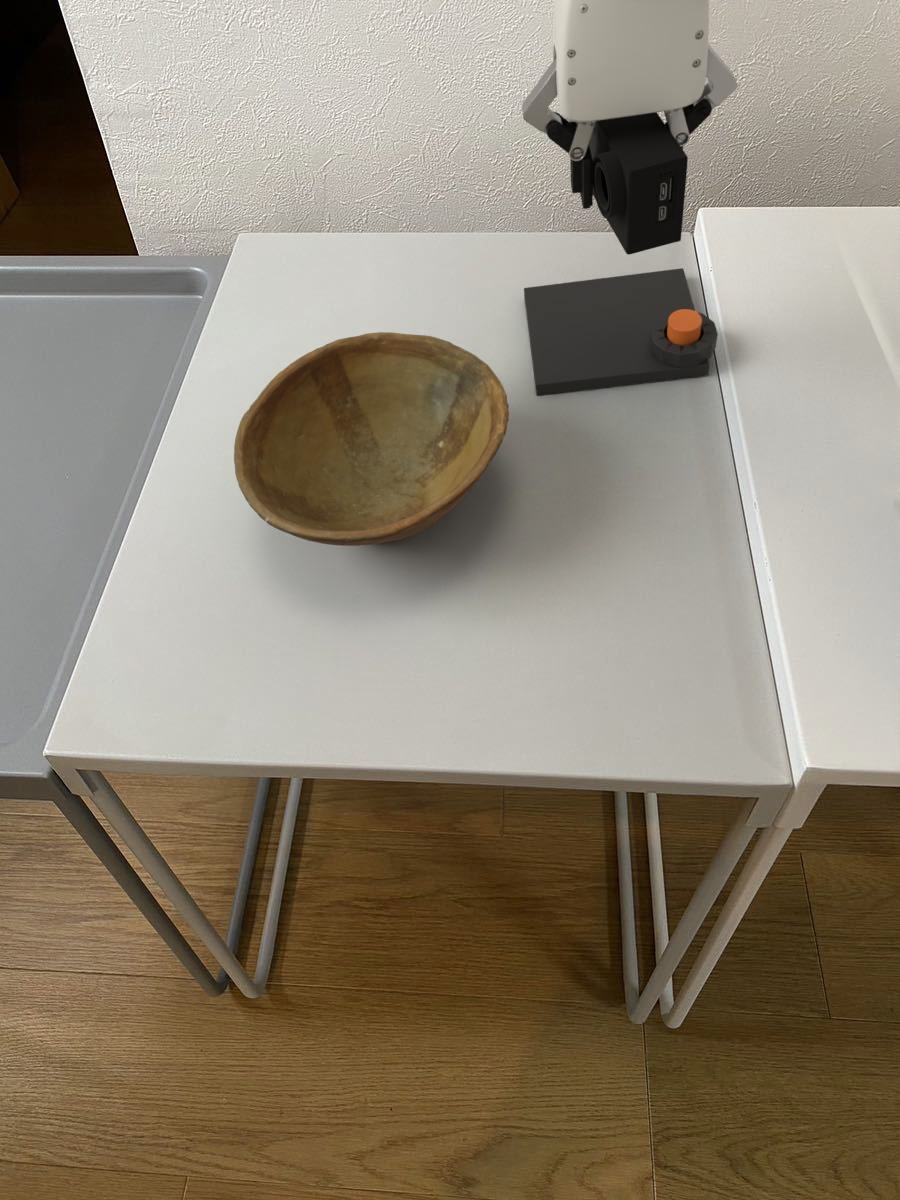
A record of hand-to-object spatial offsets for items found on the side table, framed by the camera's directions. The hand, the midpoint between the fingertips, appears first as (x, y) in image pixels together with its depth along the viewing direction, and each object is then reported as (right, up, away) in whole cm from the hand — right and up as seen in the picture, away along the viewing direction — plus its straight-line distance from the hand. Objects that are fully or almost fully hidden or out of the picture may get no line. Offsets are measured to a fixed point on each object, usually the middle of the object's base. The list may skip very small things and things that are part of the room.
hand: (624, 190), depth 72 cm
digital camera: (0, -1, +2) cm, 2 cm away
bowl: (-19, -23, +11) cm, 32 cm away
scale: (+2, -6, +19) cm, 20 cm away
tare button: (+8, -7, +14) cm, 18 cm away
